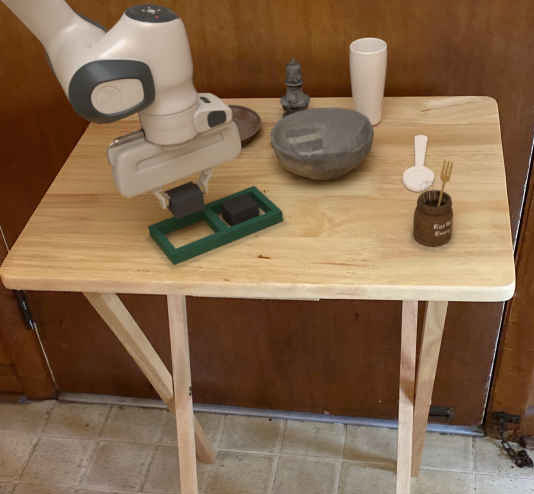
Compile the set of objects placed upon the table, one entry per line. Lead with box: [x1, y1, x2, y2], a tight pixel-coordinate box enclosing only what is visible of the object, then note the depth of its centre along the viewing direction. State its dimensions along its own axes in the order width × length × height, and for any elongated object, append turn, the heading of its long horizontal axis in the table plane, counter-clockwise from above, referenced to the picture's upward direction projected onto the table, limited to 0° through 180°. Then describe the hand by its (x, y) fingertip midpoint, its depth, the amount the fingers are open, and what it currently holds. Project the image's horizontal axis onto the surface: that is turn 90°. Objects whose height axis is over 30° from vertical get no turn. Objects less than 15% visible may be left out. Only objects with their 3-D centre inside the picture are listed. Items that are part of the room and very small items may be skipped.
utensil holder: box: [412, 159, 454, 247], centre depth 124 cm, size 6×6×12 cm
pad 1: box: [162, 180, 206, 219], centre depth 127 cm, size 5×4×3 cm
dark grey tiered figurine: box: [279, 57, 311, 118], centre depth 155 cm, size 6×6×12 cm
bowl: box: [269, 106, 375, 181], centre depth 142 cm, size 18×18×8 cm
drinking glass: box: [348, 37, 388, 127], centre depth 151 cm, size 7×7×15 cm
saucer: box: [227, 104, 262, 146], centre depth 155 cm, size 15×15×3 cm
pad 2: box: [221, 193, 260, 227], centre depth 134 cm, size 5×4×3 cm
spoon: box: [402, 134, 435, 193], centre depth 143 cm, size 5×18×1 cm, turn 170°
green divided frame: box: [147, 185, 284, 266], centre depth 133 cm, size 20×9×2 cm, turn 120°
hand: (184, 199), depth 127 cm, fingers closed on pad 1, 5 cm apart
